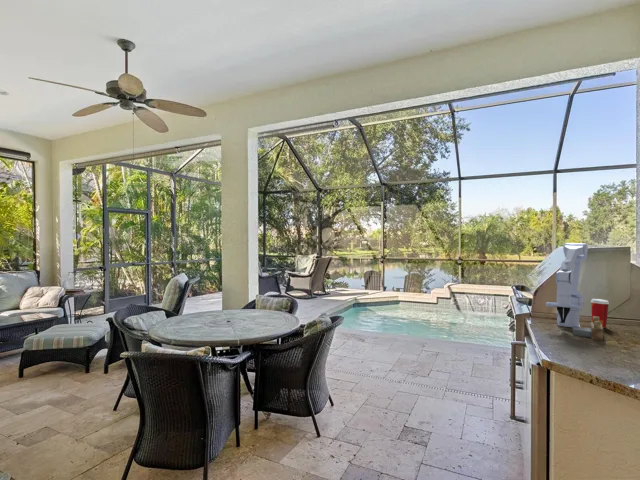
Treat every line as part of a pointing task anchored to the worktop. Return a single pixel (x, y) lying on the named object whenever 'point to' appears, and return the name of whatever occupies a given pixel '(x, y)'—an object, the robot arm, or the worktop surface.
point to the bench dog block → (596, 329)
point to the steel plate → (582, 331)
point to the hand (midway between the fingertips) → (563, 322)
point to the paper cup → (600, 310)
